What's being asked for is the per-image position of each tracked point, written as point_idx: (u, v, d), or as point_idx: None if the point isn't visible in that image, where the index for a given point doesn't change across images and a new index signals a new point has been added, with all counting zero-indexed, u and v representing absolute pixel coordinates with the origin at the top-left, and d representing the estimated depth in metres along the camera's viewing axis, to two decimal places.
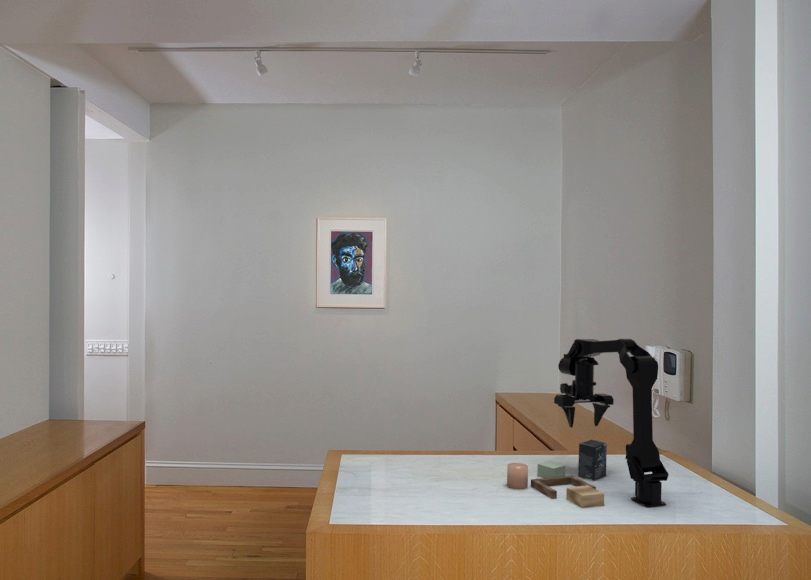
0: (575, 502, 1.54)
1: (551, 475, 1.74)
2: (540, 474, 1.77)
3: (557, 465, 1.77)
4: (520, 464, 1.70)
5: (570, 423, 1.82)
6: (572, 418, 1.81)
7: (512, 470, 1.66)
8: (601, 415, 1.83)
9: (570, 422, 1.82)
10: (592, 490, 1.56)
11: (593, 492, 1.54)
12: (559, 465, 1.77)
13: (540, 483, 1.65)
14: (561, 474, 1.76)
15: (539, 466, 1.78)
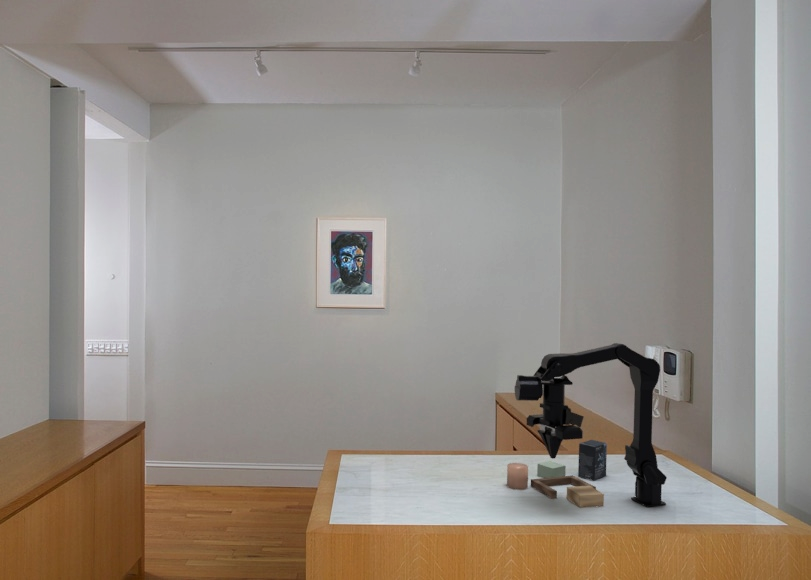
0: (574, 502, 1.55)
1: (550, 475, 1.74)
2: (540, 474, 1.78)
3: (557, 465, 1.77)
4: (520, 464, 1.70)
5: None
6: (546, 446, 1.56)
7: (512, 470, 1.66)
8: (548, 445, 1.54)
9: None
10: (592, 491, 1.55)
11: (593, 493, 1.54)
12: (559, 465, 1.77)
13: (540, 483, 1.65)
14: (561, 474, 1.76)
15: (539, 466, 1.78)
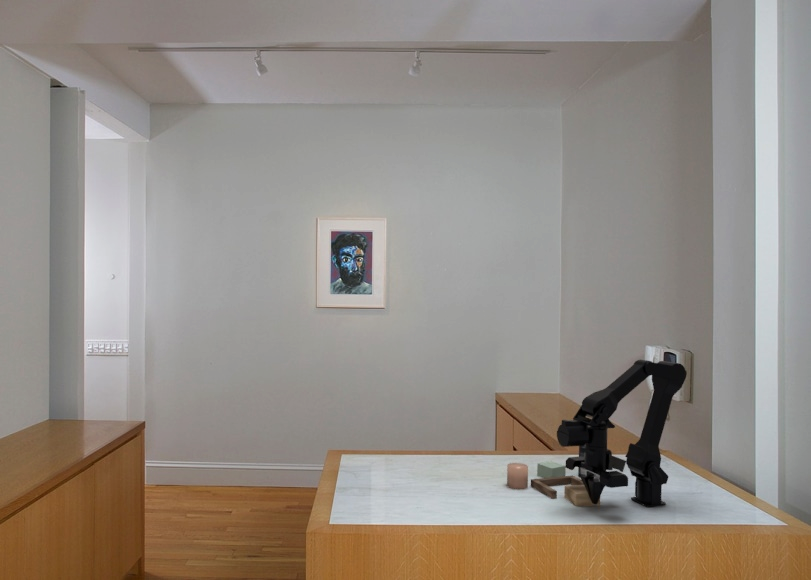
0: (571, 500, 1.56)
1: (550, 475, 1.74)
2: (540, 474, 1.78)
3: (556, 466, 1.77)
4: (520, 464, 1.70)
5: None
6: (587, 491, 1.52)
7: (512, 470, 1.66)
8: (591, 491, 1.50)
9: None
10: None
11: None
12: (559, 465, 1.77)
13: (540, 483, 1.65)
14: (561, 474, 1.76)
15: (539, 466, 1.78)
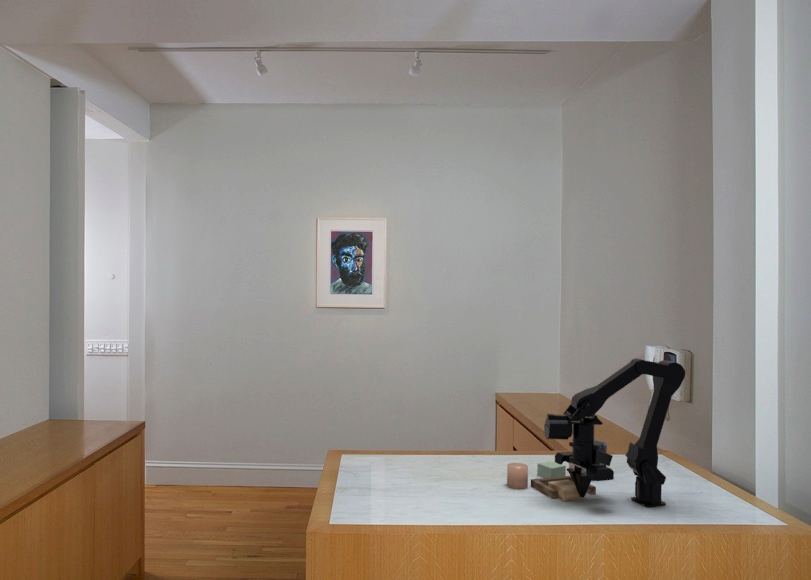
0: (557, 496, 1.59)
1: (549, 475, 1.74)
2: (540, 473, 1.78)
3: (556, 466, 1.77)
4: (520, 464, 1.70)
5: None
6: (575, 484, 1.57)
7: (512, 470, 1.66)
8: (578, 484, 1.56)
9: None
10: (572, 484, 1.61)
11: (574, 486, 1.59)
12: (559, 465, 1.77)
13: (540, 483, 1.65)
14: (561, 474, 1.76)
15: (539, 466, 1.78)
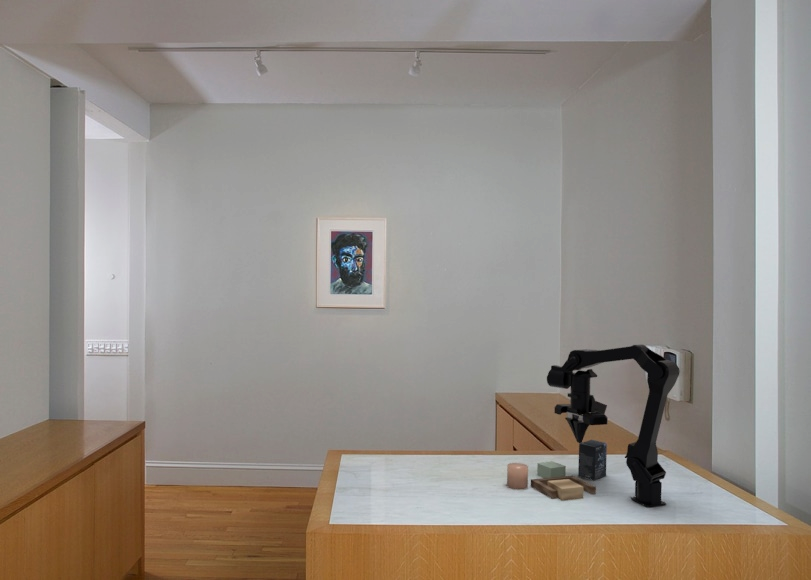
0: None
1: (549, 475, 1.75)
2: (540, 473, 1.78)
3: (556, 466, 1.77)
4: (520, 464, 1.70)
5: None
6: (573, 431, 1.73)
7: (512, 470, 1.66)
8: (576, 431, 1.72)
9: None
10: (571, 484, 1.61)
11: (573, 486, 1.59)
12: (559, 465, 1.77)
13: (540, 483, 1.65)
14: (560, 474, 1.76)
15: (539, 465, 1.79)
